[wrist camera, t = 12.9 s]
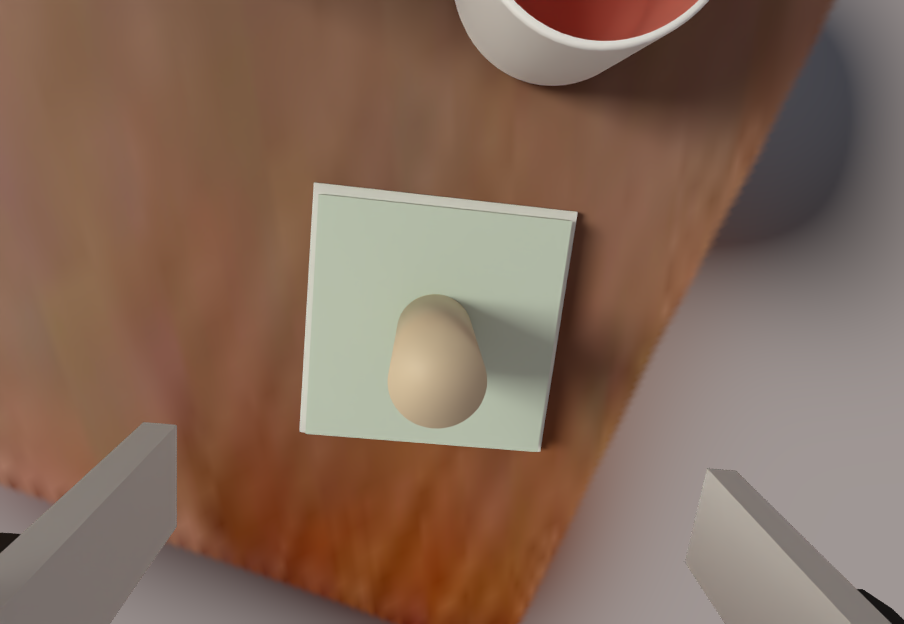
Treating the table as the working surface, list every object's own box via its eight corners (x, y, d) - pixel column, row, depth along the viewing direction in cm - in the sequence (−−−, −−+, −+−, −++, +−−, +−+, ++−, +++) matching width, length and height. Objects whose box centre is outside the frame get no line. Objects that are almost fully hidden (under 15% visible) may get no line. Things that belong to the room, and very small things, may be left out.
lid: (309, 424, 34) (267, 515, 25) (322, 193, 31) (280, 201, 22) (533, 442, 34) (571, 536, 25) (566, 219, 32) (623, 237, 23)
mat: (301, 427, 34) (299, 431, 34) (316, 182, 31) (313, 182, 31) (538, 447, 35) (540, 451, 35) (574, 211, 32) (577, 212, 31)
